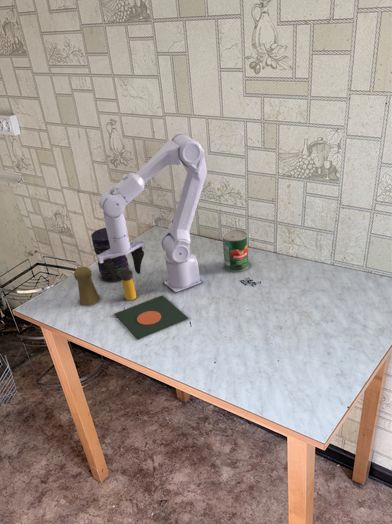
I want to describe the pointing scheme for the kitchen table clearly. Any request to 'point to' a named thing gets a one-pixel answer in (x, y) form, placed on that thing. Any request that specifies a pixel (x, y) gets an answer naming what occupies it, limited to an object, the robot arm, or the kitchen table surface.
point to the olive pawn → (86, 286)
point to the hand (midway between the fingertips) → (126, 276)
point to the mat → (150, 316)
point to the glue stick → (128, 284)
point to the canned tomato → (235, 250)
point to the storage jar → (120, 262)
